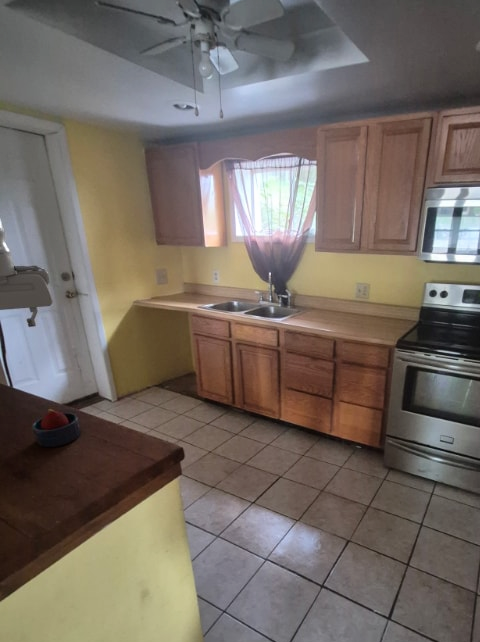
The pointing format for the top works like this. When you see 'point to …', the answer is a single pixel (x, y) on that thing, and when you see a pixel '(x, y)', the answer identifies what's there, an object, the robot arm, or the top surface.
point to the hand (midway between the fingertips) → (8, 328)
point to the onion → (53, 420)
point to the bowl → (57, 432)
